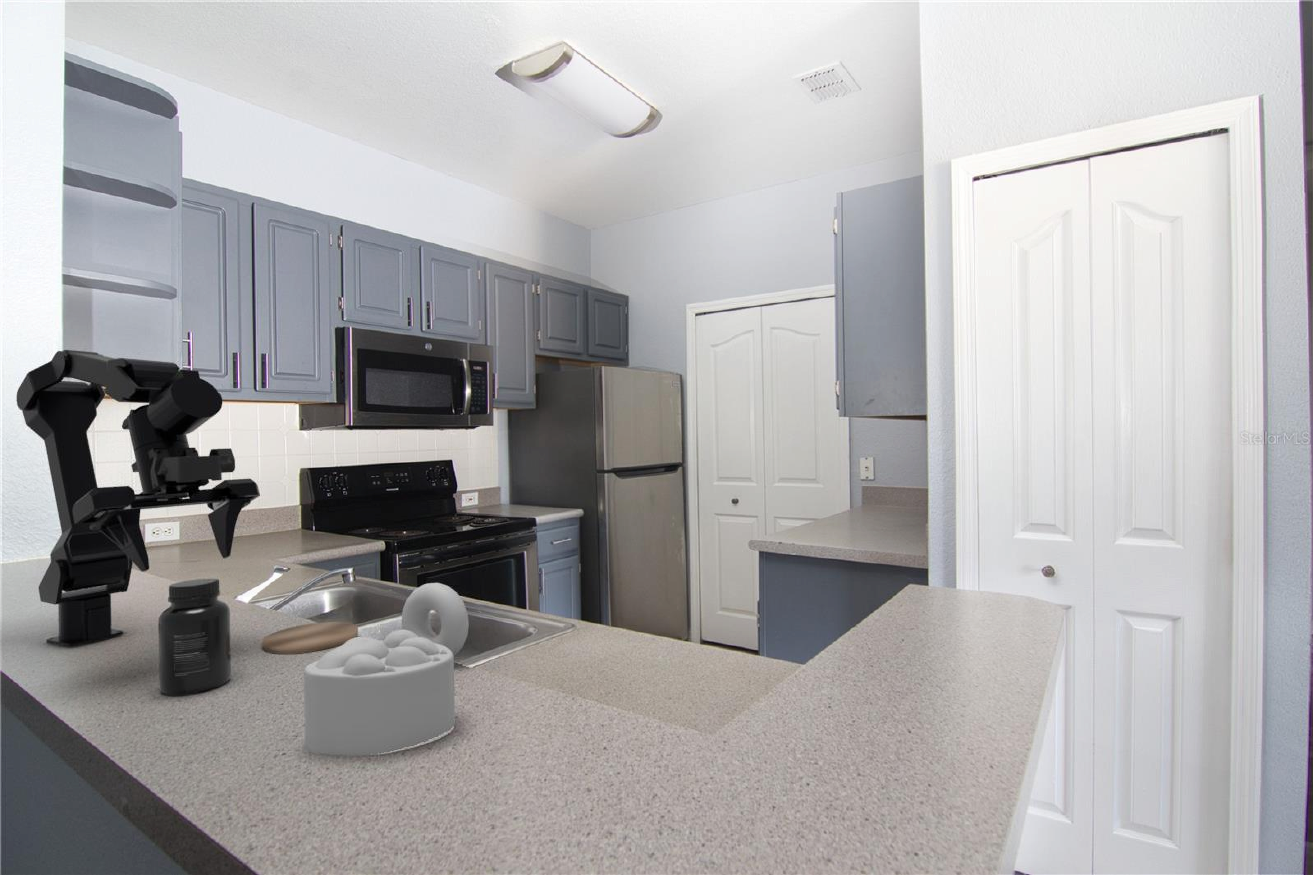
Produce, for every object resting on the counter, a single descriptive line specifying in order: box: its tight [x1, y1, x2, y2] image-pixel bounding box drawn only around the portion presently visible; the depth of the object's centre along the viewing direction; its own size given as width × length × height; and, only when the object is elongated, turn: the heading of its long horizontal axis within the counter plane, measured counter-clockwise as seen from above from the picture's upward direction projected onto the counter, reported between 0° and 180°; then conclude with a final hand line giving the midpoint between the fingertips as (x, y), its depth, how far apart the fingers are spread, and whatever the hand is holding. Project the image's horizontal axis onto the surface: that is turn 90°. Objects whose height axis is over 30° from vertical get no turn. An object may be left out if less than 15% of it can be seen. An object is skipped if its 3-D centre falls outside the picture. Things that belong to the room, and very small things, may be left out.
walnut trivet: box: [261, 621, 359, 655], centre depth 91 cm, size 12×12×1 cm
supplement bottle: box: [157, 578, 232, 696], centre depth 74 cm, size 7×7×12 cm
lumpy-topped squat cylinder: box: [303, 629, 456, 757], centre depth 62 cm, size 10×13×9 cm
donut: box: [401, 582, 470, 657], centre depth 81 cm, size 10×4×10 cm, turn 65°
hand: (188, 563), depth 80 cm, fingers open, 9 cm apart
